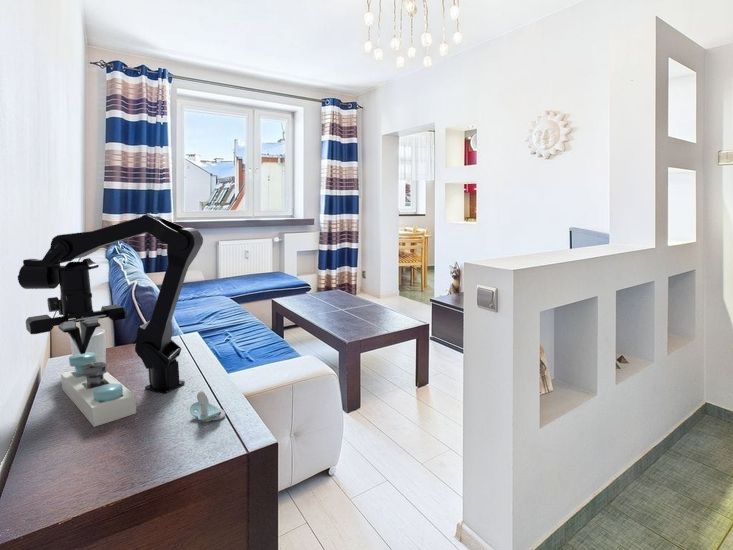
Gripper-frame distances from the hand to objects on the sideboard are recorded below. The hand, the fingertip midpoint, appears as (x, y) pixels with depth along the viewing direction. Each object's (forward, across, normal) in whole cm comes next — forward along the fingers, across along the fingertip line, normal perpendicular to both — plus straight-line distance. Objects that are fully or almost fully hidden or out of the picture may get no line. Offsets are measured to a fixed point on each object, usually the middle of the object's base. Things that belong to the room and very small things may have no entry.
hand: (82, 353), depth 99 cm
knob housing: (+9, 0, +9) cm, 12 cm away
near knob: (+8, 0, +18) cm, 19 cm away
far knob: (+5, 0, 0) cm, 5 cm away
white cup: (+9, -4, -13) cm, 17 cm away
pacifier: (+9, -14, +34) cm, 38 cm away
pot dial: (+5, 0, +9) cm, 10 cm away
